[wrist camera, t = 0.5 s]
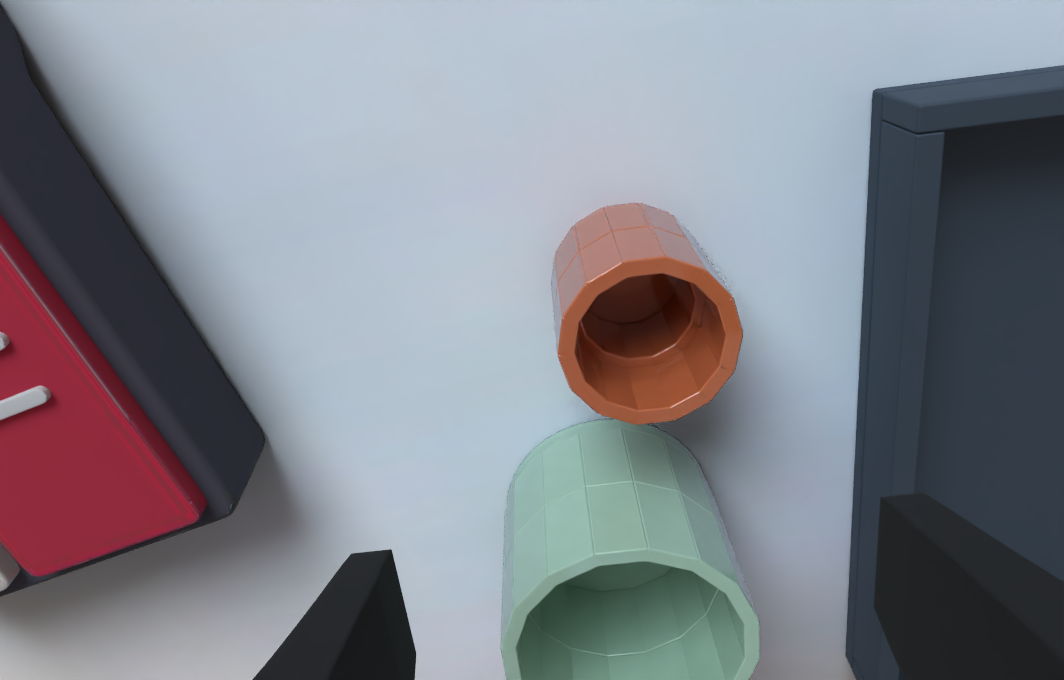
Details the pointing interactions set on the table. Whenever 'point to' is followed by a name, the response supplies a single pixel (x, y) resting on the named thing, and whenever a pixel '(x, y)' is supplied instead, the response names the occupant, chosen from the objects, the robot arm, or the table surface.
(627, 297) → the brown cup
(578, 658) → the green cup
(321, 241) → the table surface
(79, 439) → the grey and red box
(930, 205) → the tray
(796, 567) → the table surface
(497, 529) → the table surface
